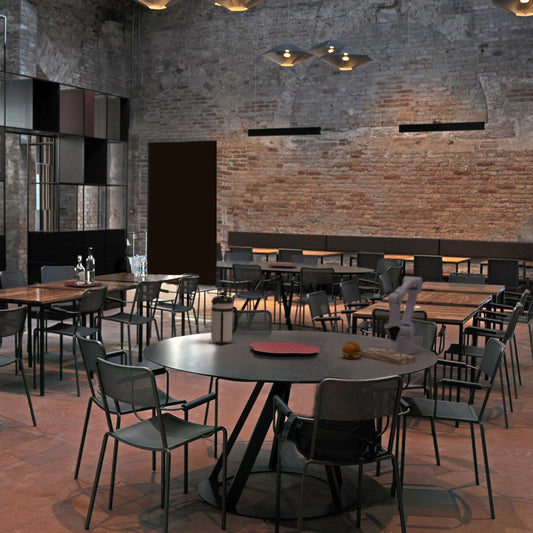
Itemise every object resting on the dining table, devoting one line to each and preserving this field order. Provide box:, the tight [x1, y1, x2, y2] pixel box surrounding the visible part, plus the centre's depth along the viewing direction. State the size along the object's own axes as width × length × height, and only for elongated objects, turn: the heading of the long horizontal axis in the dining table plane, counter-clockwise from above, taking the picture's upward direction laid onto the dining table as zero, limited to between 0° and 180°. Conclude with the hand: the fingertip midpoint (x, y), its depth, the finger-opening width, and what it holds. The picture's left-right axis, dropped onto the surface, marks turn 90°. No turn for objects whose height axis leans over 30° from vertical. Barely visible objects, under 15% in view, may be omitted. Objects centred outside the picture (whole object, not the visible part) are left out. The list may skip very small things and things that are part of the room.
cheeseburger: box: [341, 341, 363, 360], centre depth 397 cm, size 10×11×10 cm
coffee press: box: [208, 291, 239, 346], centre depth 430 cm, size 17×16×30 cm
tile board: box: [361, 347, 417, 366], centre depth 398 cm, size 14×28×3 cm, turn 41°
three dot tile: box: [392, 354, 410, 358], centre depth 391 cm, size 6×6×3 cm
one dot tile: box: [366, 347, 382, 352], centre depth 405 cm, size 6×6×3 cm
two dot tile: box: [379, 348, 396, 355], centre depth 398 cm, size 6×6×3 cm
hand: (393, 340), depth 401 cm, fingers closed
